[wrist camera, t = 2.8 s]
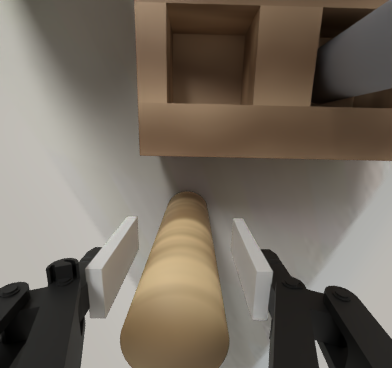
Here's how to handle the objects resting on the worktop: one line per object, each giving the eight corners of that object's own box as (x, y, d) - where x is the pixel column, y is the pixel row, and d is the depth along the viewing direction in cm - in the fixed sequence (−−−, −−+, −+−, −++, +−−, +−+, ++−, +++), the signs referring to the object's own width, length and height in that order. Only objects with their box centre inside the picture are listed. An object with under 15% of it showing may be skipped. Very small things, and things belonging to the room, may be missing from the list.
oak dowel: (166, 191, 21) (117, 295, 8) (208, 191, 21) (232, 297, 8) (167, 229, 22) (123, 384, 8) (206, 230, 22) (226, 385, 9)
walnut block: (152, -3, 18) (131, -71, 12) (375, 3, 18) (464, -60, 12) (155, 148, 20) (139, 155, 14) (348, 153, 20) (410, 161, 15)
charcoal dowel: (300, 47, 17) (419, -48, 8) (353, 49, 17) (528, -44, 8) (294, 103, 18) (393, 74, 9) (344, 104, 18) (492, 76, 9)
